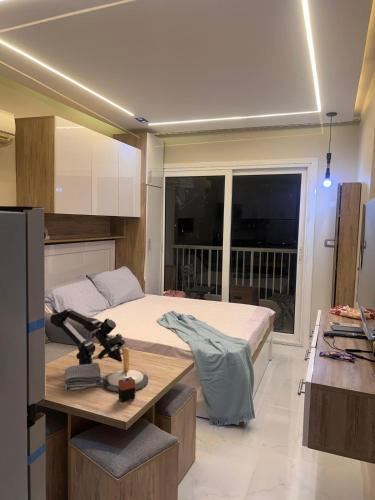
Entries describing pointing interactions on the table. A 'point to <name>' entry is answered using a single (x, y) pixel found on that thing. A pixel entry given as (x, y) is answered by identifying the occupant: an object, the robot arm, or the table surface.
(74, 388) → the towel
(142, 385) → the dial plate
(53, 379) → the table surface
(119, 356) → the robot arm
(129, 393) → the battery
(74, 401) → the table surface
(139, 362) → the table surface
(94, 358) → the caliper
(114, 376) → the dial
